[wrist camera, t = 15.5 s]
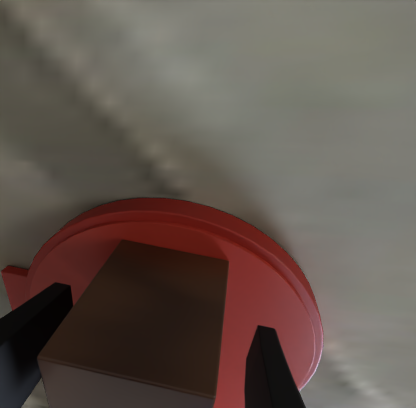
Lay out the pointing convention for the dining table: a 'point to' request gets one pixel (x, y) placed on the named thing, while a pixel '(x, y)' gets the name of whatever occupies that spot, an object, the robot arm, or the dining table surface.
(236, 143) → the dining table surface
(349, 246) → the dining table surface
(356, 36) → the dining table surface
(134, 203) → the red lid
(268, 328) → the robot arm
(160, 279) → the walnut block
